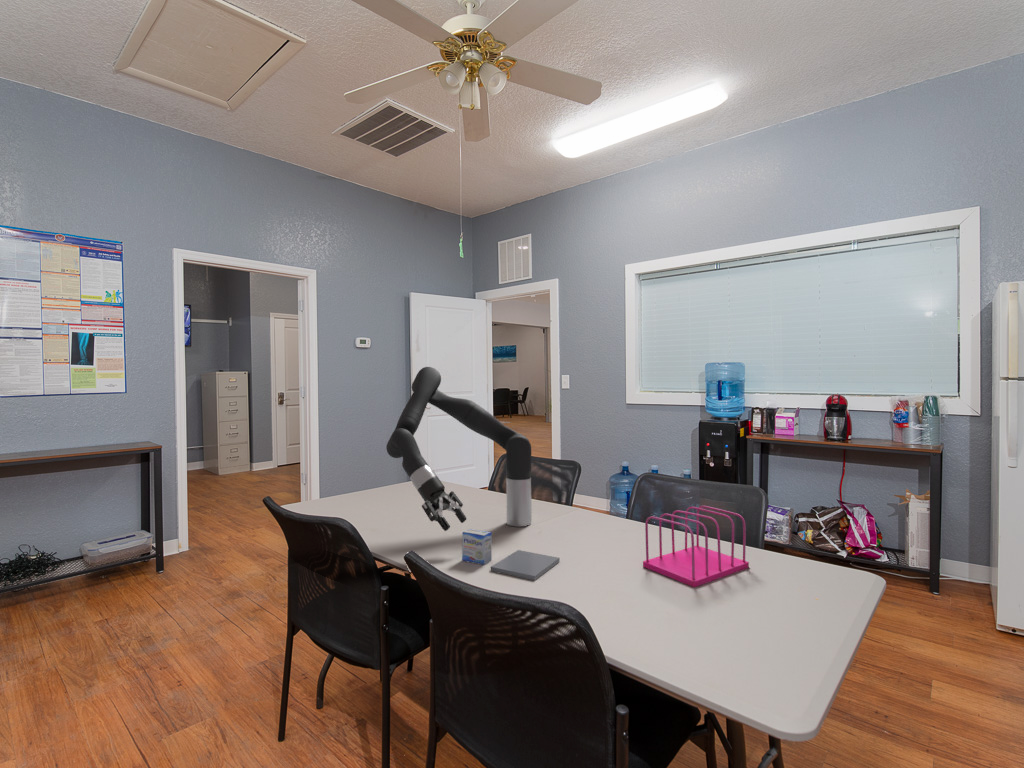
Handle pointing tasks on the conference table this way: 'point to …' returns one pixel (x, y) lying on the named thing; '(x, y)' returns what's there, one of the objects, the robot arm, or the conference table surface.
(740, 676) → the conference table surface
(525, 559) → the slate tile
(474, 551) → the medicine box
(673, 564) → the file sorter
